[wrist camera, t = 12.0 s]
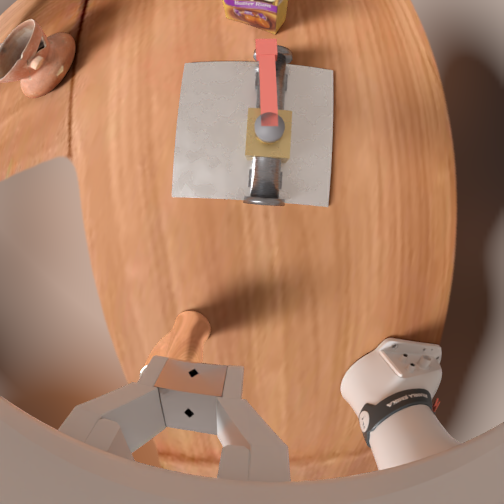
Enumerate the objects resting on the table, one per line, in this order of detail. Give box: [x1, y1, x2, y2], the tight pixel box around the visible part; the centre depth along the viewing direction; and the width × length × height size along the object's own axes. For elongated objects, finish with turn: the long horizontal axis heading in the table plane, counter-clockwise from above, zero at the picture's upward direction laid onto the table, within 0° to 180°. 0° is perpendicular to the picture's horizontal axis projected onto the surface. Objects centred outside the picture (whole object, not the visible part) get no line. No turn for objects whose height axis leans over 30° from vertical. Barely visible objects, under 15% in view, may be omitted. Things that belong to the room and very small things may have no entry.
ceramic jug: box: [0, 19, 75, 98], centre depth 25 cm, size 18×14×14 cm
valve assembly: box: [172, 45, 333, 207], centre depth 31 cm, size 22×21×8 cm
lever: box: [255, 39, 285, 143], centre depth 26 cm, size 13×3×2 cm, turn 1°
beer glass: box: [140, 311, 211, 377], centre depth 35 cm, size 7×7×15 cm
